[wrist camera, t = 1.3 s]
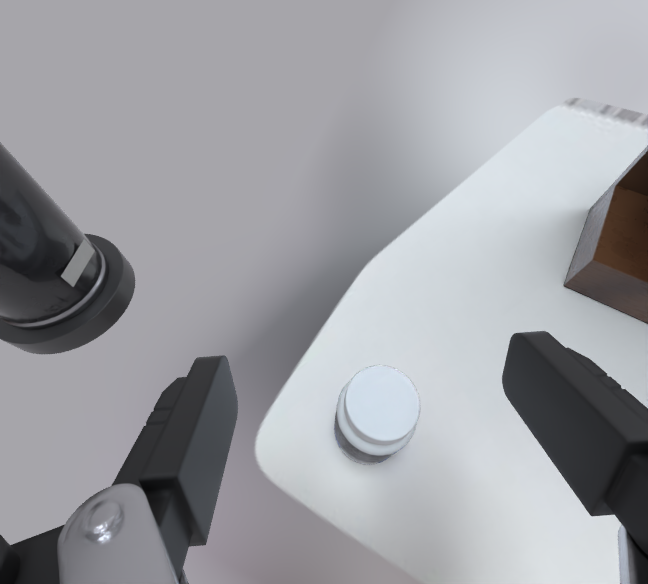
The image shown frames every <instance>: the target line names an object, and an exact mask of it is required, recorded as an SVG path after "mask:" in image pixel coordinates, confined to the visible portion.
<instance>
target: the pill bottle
mask: <svg viewBox="0 0 648 584" xmlns="http://www.w3.org/2000/svg"><path fill="white" fill-rule="evenodd" d="M419 414H420V399H419V395H418V392H417V390H416V388H415V386H414V384H413V383H412V381H411V380H410V379H409V378H408V377H407V376H406V375H405V374H403V373H402V372H401V371H399V370H397V369H395V368H392V367H389V366H384V365H376V366H370V367H367V368H365V369H363V370H361V371H359V372H358V373H357V374H356V375H355V376H354V377H353V378H352V379H351V381H349V382H348V383H347V384H346V386H345V387H344V388H343V389H342V391H341V393H340V396H339V400H338V404H337V410H336V416H335V425H334V430H335V436H336V440H337V443H338V445H339V447H340V448H341V450H342V451H343V452H344V454H345V455H346V456H348V457H349V458H350V459H352V460H354V461H355V462H358V463H361V464H369V465H370V464H376V463H380V462H382V461H384V460H386V459H387V458H389V457H390V456H391V455H393V454H394V453H396V452H397V451H399V450H400V449H402V448H403V447H404V446H405V445H406V444H407V443H408V442H409V440H410V439H411V437H412V435H413V433H414V431H415V428H416V423H417V421H418V418H419Z"/></svg>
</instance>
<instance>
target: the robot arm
mask: <svg viewBox="0 0 648 584" xmlns="http://www.w3.org/2000/svg"><path fill="white" fill-rule="evenodd" d="M108 272H109V266H108V262H107V259H106V257H105V255H104V254H103V253H102V252H101V251H100V250H99V248H98V247H97V246H96V245H94V244H93V243H92V242H90V240H89V239H88V238H87V237H86V236H85V235H84V234H83V233H82V232H81V231H80V229H79V228H78V227H77V226H76V225H75V224H74V223H73V222H72V220H71V219H70V218H69V217H68V216H67V215H66V214H65V213H64V212H63V211H62V209H61V208H60V207H59V206H58V205H57V204H56V203H55V202H54V201H53V200H52V198H51V197H50V196H49V195H48V194H47V193H46V192H45V191H44V190H43V189H42V188H41V186H39V184H38V183H37V182H36V181H35V180H34V179H33V178H32V177H31V175H30V174H29V173H28V172H27V171H26V170H25V169H24V168H23V167H22V166H21V165H20V163H19V162H18V161H17V160H16V159H15V158H14V157H13V156H12V155H11V154H10V152H9V151H8V150H7V149H6V148H5V147H4V146H3V145H2V144H1V143H0V319H1V320H3V321H4V322H6V323H8V324H10V325H12V326H14V327H17V328H21V329H30V330H33V329H43V328H48V327H52V326H55V325H58V324H60V323H63V322H65V321H67V320H69V319H71V318H73V317H74V316H76V315H78V314H79V313H81V312H82V311H83V310H85V309H86V308H87V307H88V306H89V305H90V304H91V303H92V302H93V301H94V300H95V299H96V298H97V297H98V295H99V294H100V293H101V291H102V289H103V288H104V286H105V284H106V281H107V278H108ZM502 383H503V389H504V392H505V394H506V396H507V398H508V400H509V401H510V403H511V404H512V405H513V407H514V408H515V410H516V411H517V412H518V414H519V415H520V417H521V418H522V419H523V421H524V422H525V424H526V425H527V426H528V428H529V429H530V431H531V432H532V434H533V435H534V436H535V438H536V439H537V441H538V442H539V443H540V445H541V446H542V448H543V449H544V450H545V452H546V453H547V455H548V456H549V458H550V459H551V460H552V462H553V463H554V465H555V466H556V467H557V469H558V470H559V472H560V473H561V474H562V476H563V477H564V479H565V480H566V481H567V483H568V484H569V486H570V487H571V489H572V490H573V491H574V493H575V494H576V496H577V497H578V498H579V500H580V501H581V503H582V504H583V505H584V507H585V508H586V510H587V511H588V512H589V514H590V515H591V516H601V515H614V514H615V516H616V517H617V518H618V520H619V521H620V522H621V524H622V525H621V527H620V528H619V531H618V548H619V569H620V584H648V408H646V407H645V406H644V405H643V404H642V403H641V402H639V401H638V400H637V399H636V398H635V397H634V396H632V395H631V394H630V393H629V392H628V391H627V390H625V389H622V388H621V385H619V384H618V383H617V382H616V381H615V380H614V379H612V378H611V377H608V376H607V373H605V372H604V371H603V370H602V369H601V368H600V367H598V366H597V365H596V364H595V363H594V362H593V361H591V360H590V359H589V358H587V357H585V356H583V355H581V354H579V353H577V352H575V351H573V350H571V349H570V348H565V347H564V346H563V345H562V344H560V343H559V342H558V341H557V340H556V339H555V338H554V337H553V336H551V335H550V334H549V333H548V332H545V331H537V332H525V333H515V334H514V335H513V336H512V337H511V340H510V344H509V348H508V353H507V357H506V362H505V366H504V371H503V376H502ZM237 413H238V401H237V395H236V391H235V387H234V383H233V379H232V375H231V371H230V367H229V363H228V360H227V358H226V356H211V357H199V358H196V360H195V361H194V363H193V365H192V367H191V370H190V372H189V373H188V375H187V377H182V378H177V379H176V380H175V381H174V382H173V383H172V384H171V385H170V386H168V387H167V388H166V389H165V390H164V391H163V392H162V394H161V396H160V398H159V400H158V402H157V403H156V405H155V407H154V411H153V412H151V414H150V416H149V418H148V420H147V422H146V426H144V427H143V429H142V431H141V433H140V435H139V436H138V438H137V440H136V442H135V444H134V446H133V447H132V449H131V451H130V453H129V455H128V457H127V458H126V460H125V462H124V464H123V466H122V468H121V470H120V471H119V473H118V475H117V477H116V479H115V481H114V483H113V484H112V486H111V487H108V488H106V489H104V490H102V491H100V492H98V493H96V494H95V495H93V496H92V497H90V498H89V499H88V500H86V501H85V502H84V503H83V504H82V505H81V506H80V507H79V508H77V510H76V511H75V512H74V513H73V514H72V515H71V517H70V518H69V519H68V521H67V522H66V524H65V525H62V526H60V527H57V528H55V529H52V530H50V531H47V532H45V533H42V534H39V535H36V536H34V537H31V538H29V539H26V540H23V541H21V542H18V543H15V544H13V545H9V544H8V543H7V542H6V541H5V539H4V538H3V537H2V536H1V535H0V584H189V583H188V581H187V578H186V575H185V573H184V570H183V565H184V561H185V557H186V554H187V551H188V547H189V546H199V545H206V542H207V538H208V534H209V529H210V526H211V522H212V518H213V513H214V510H215V505H216V501H217V497H218V493H219V489H220V485H221V481H222V477H223V473H224V468H225V464H226V461H227V456H228V452H229V448H230V444H231V440H232V436H233V432H234V428H235V424H236V420H237Z"/></svg>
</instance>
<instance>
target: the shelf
mask: <svg viewBox="0 0 648 584" xmlns="http://www.w3.org/2000/svg"><path fill="white" fill-rule="evenodd" d="M564 286H566V287H568V288H570V289H572V290H575V291H577V292H579V293H581V294H584V295H586V296H588V297H590V298H592V299H595V300H597V301H599V302H601V303H604V304H606V305H608V306H610V307H613V308H615V309H617V310H619V311H622V312H624V313H626V314H628V315H630V316H633V317H635V318H637V319H639V320H642V321H644V322H646V323H648V146H647V147H646V148H645V149H644V150H643V151H642V152H641V154H640V155H639V156H638V157H637V158H636V159H635V160H634V161H633V162H632V163H631V164H630V166H629V167H628V168H627V169H626V170H625V171H624V172H623V173H622V174H621V175H620V177H619V178H618V179H617V180H616V181H615V182H614V183H613V184H612V185H611V186H610V187H609V189H608V190H607V191H606V192H605V193H604V194H603V195H602V196H601V197H600V198H599V200H598V201H597V202H596V203H595V204H594V205H593V206H592V207H591V209H590V212H589V215H588V218H587V221H586V223H585V226H584V229H583V232H582V235H581V238H580V241H579V243H578V246H577V249H576V252H575V255H574V258H573V261H572V263H571V266H570V269H569V272H568V275H567V278H566V280H565V283H564Z"/></svg>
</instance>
